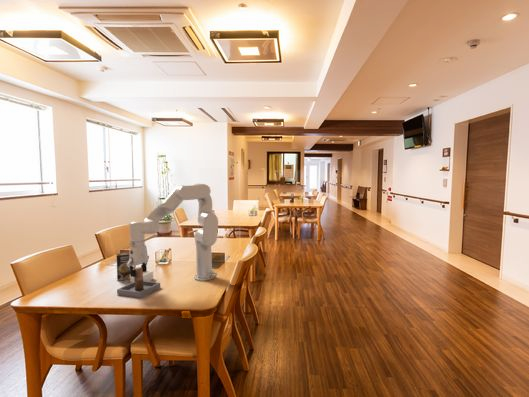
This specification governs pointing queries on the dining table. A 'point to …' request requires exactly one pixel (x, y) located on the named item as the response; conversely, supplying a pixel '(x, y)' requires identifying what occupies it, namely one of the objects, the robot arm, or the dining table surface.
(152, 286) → the tray
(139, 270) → the dowel
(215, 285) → the dining table surface
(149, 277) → the white square block
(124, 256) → the coffee box
